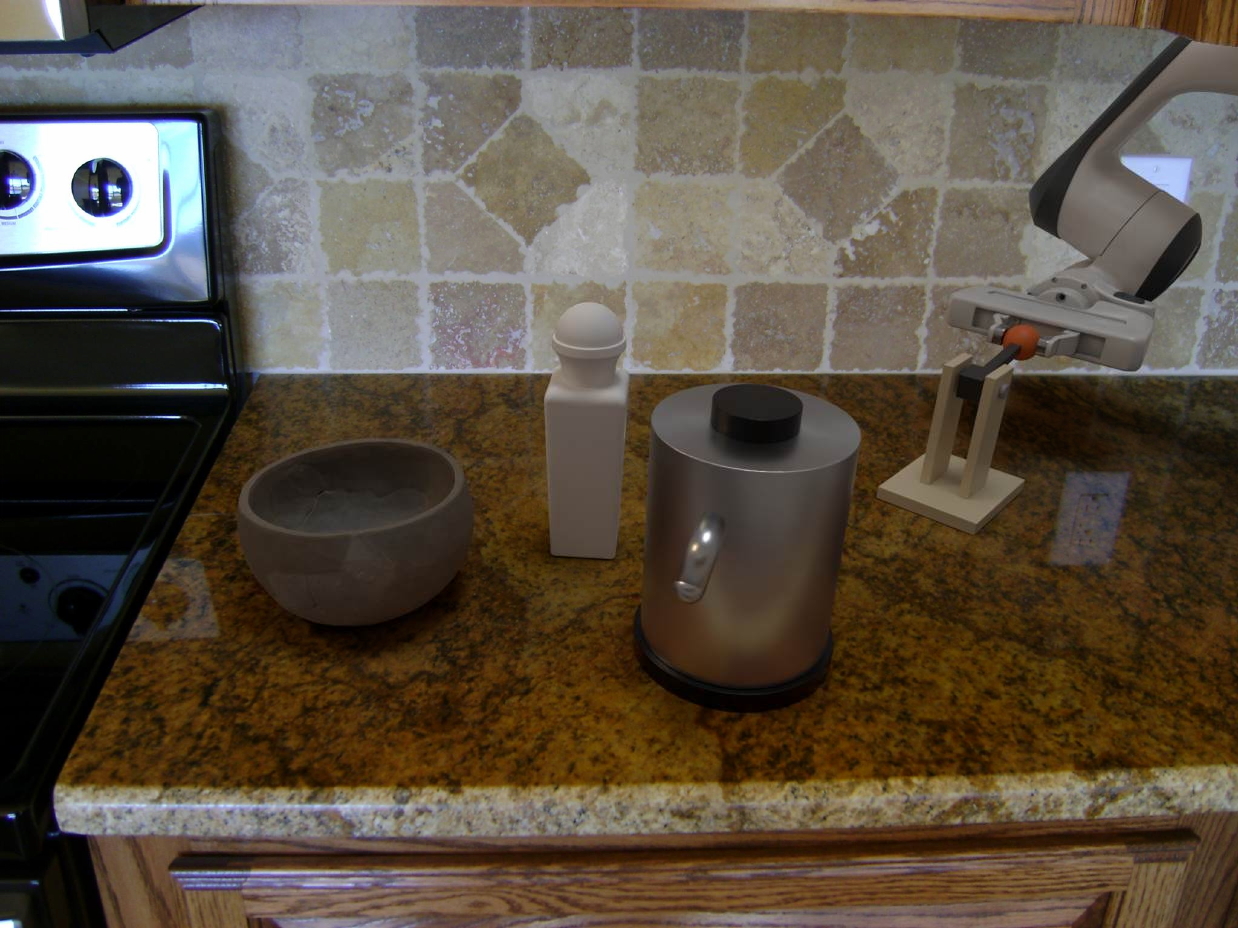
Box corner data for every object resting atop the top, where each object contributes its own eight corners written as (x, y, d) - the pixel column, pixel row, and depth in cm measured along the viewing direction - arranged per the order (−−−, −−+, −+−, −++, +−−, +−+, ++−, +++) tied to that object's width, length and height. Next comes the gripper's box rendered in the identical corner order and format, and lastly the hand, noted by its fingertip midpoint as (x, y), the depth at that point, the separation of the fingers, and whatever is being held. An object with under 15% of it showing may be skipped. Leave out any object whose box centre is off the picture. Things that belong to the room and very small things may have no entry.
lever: (1008, 348, 98) (1014, 316, 96) (1043, 357, 95) (1050, 324, 93) (947, 400, 89) (953, 366, 87) (984, 411, 87) (990, 377, 85)
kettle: (779, 776, 59) (821, 501, 50) (574, 698, 65) (577, 439, 56) (862, 600, 77) (904, 371, 67) (693, 551, 82) (711, 334, 73)
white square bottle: (619, 563, 80) (628, 319, 70) (544, 559, 81) (542, 314, 70) (624, 524, 86) (633, 293, 76) (553, 520, 86) (553, 289, 76)
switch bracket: (929, 458, 100) (955, 336, 94) (1022, 490, 94) (1056, 363, 88) (876, 497, 92) (900, 367, 86) (973, 535, 86) (1007, 399, 80)
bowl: (290, 529, 84) (274, 428, 79) (488, 533, 84) (484, 433, 79) (218, 654, 68) (193, 538, 64) (462, 658, 69) (455, 543, 64)
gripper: (980, 265, 107) (927, 289, 98) (1173, 307, 96) (1135, 338, 86) (968, 318, 110) (916, 345, 101) (1154, 364, 99) (1115, 401, 89)
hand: (1019, 342), depth 94 cm, fingers closed on lever, 3 cm apart
